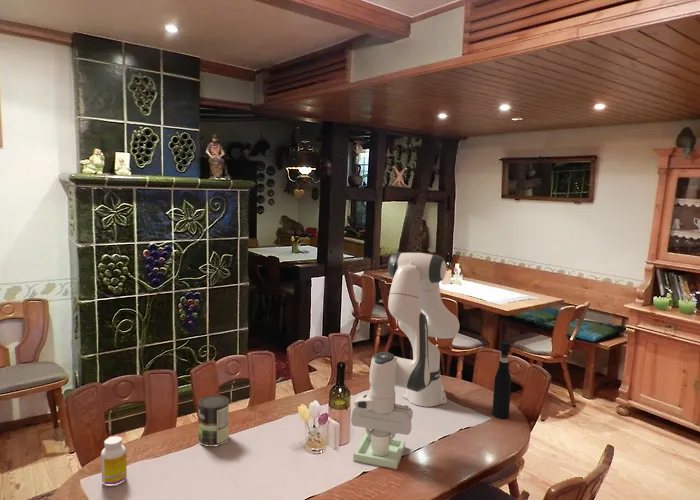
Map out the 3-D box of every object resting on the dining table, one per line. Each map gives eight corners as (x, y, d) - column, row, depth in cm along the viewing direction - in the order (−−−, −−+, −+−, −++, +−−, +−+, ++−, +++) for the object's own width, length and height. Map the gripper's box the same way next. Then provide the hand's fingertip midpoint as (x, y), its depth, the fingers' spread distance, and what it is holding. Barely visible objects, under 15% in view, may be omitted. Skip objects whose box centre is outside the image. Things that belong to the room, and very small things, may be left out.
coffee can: (201, 449, 163) (201, 409, 162) (195, 436, 172) (195, 397, 171) (232, 443, 168) (232, 404, 166) (225, 430, 177) (225, 393, 175)
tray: (364, 439, 173) (364, 433, 173) (404, 447, 169) (405, 440, 168) (353, 460, 159) (353, 453, 159) (396, 469, 155) (396, 462, 155)
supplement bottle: (130, 481, 145) (129, 440, 143) (107, 490, 140) (106, 448, 139) (120, 472, 149) (119, 432, 148) (98, 481, 144) (96, 440, 143)
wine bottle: (510, 419, 192) (515, 345, 188) (493, 418, 192) (498, 344, 189) (507, 412, 198) (512, 340, 194) (491, 411, 199) (495, 339, 195)
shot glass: (389, 458, 160) (390, 437, 159) (368, 455, 161) (369, 435, 160) (390, 447, 167) (391, 427, 166) (371, 445, 168) (371, 425, 167)
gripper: (414, 403, 162) (412, 442, 164) (355, 394, 168) (354, 432, 169) (411, 411, 156) (409, 451, 158) (350, 401, 162) (349, 440, 163)
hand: (380, 441), depth 164 cm, fingers closed on shot glass, 5 cm apart
